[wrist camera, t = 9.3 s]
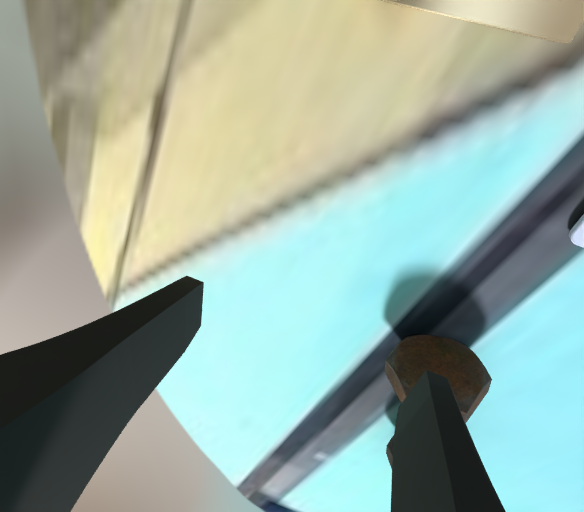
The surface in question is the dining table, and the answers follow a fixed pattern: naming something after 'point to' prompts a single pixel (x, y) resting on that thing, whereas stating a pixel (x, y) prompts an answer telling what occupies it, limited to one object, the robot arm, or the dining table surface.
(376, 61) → the dining table surface
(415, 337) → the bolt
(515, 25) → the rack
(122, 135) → the dining table surface
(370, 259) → the dining table surface
